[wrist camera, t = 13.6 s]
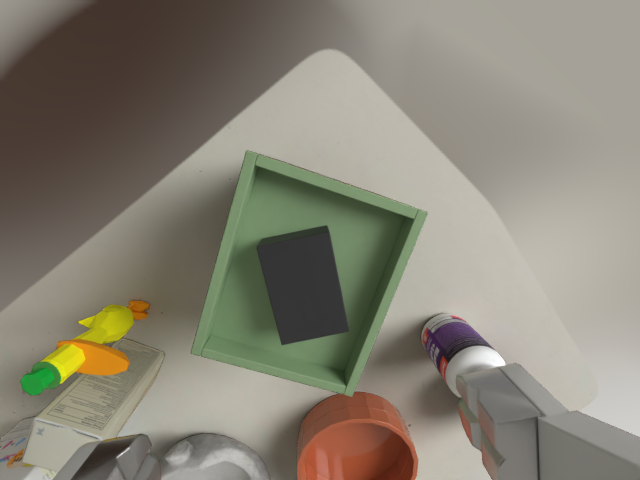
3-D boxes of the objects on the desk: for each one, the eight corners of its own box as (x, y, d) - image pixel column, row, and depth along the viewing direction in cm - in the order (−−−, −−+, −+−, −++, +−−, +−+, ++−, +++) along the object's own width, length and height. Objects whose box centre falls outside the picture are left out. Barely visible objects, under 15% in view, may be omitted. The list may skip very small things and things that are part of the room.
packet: (261, 238, 18) (255, 246, 16) (327, 224, 18) (329, 231, 16) (284, 328, 20) (281, 345, 18) (345, 315, 20) (349, 332, 18)
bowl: (318, 379, 35) (319, 405, 31) (423, 407, 36) (436, 436, 32) (284, 468, 37) (281, 503, 34) (383, 491, 39) (391, 527, 35)
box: (108, 367, 34) (14, 461, 23) (120, 335, 33) (28, 416, 22) (155, 384, 34) (85, 483, 23) (168, 353, 33) (102, 440, 23)
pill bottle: (411, 327, 34) (451, 389, 24) (454, 303, 33) (512, 356, 24) (433, 364, 35) (479, 436, 25) (475, 340, 34) (538, 406, 25)
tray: (275, 158, 29) (246, 149, 16) (374, 193, 30) (428, 212, 17) (240, 274, 32) (190, 354, 18) (334, 302, 33) (352, 397, 19)
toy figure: (175, 301, 32) (100, 376, 20) (170, 331, 33) (94, 421, 21) (109, 286, 31) (-9, 355, 20) (105, 317, 32) (-10, 401, 21)
